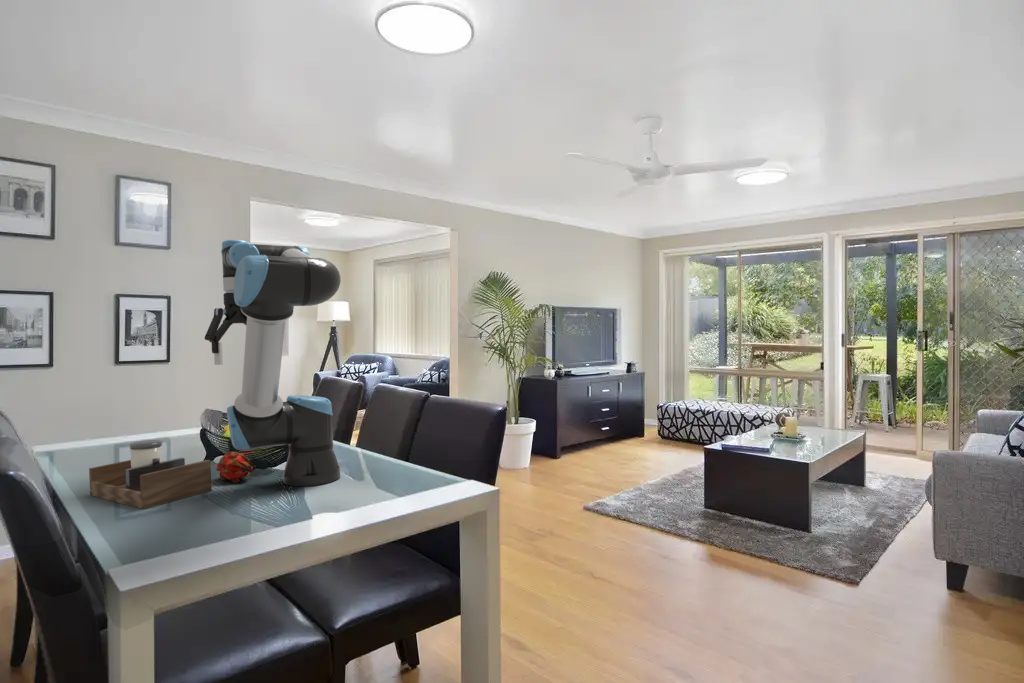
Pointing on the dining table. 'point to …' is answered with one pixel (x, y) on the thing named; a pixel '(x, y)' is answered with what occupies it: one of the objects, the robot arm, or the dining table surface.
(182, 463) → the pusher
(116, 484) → the wooden box
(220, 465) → the dragon fruit
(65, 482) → the dining table surface
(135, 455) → the jar
